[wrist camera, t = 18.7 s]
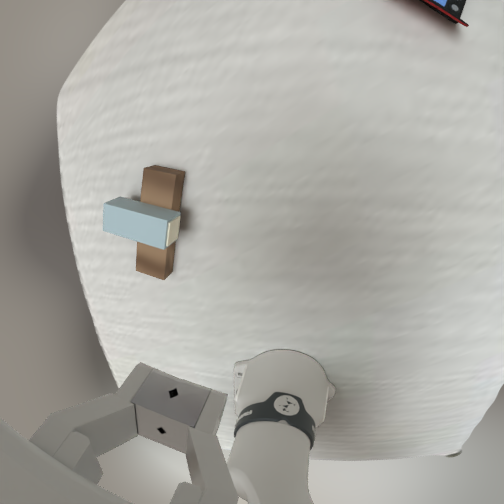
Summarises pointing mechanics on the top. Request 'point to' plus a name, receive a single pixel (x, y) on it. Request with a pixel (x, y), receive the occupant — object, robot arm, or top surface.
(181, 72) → the top surface
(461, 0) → the handheld game console
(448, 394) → the top surface
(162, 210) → the block
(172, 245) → the rail
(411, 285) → the top surface
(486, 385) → the top surface
